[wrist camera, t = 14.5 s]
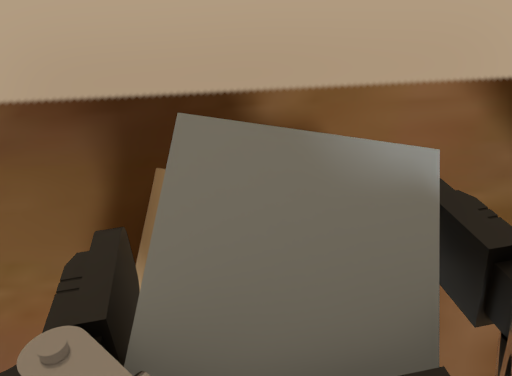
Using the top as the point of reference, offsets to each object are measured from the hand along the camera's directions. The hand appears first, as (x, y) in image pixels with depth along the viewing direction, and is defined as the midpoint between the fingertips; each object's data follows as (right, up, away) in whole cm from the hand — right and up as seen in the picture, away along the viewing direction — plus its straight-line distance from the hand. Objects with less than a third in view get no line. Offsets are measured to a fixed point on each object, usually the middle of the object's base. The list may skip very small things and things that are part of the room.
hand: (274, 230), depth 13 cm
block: (0, -4, +6) cm, 7 cm away
